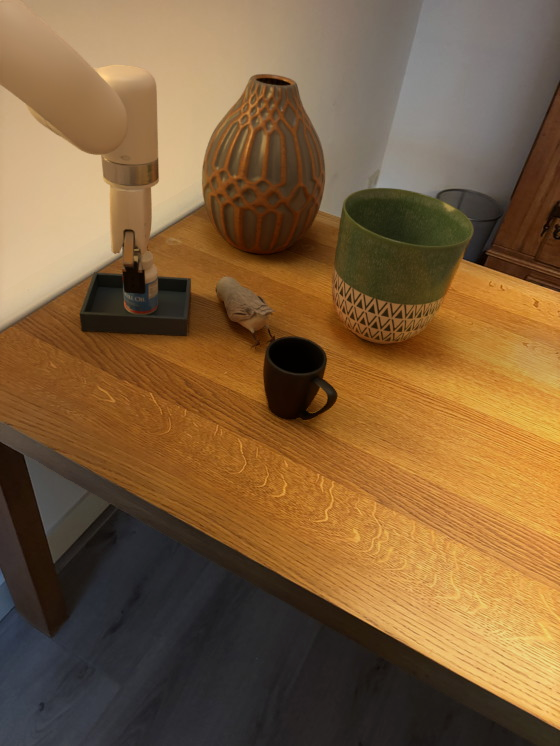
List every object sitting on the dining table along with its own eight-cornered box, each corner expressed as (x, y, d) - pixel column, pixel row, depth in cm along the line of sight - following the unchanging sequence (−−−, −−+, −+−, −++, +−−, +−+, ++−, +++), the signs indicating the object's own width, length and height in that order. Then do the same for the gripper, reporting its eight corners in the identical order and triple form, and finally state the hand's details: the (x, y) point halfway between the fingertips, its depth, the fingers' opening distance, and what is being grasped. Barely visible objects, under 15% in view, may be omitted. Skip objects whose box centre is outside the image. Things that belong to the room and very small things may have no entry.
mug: (297, 454, 71) (308, 401, 65) (247, 398, 78) (253, 345, 72) (344, 431, 75) (359, 380, 69) (293, 380, 82) (302, 329, 76)
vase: (325, 229, 122) (353, 80, 102) (295, 279, 104) (322, 109, 84) (226, 204, 126) (235, 55, 106) (180, 248, 108) (181, 78, 88)
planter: (386, 292, 105) (417, 183, 91) (453, 352, 92) (502, 237, 78) (298, 310, 96) (318, 193, 83) (359, 378, 84) (395, 255, 70)
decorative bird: (232, 296, 97) (235, 258, 92) (281, 347, 88) (286, 308, 83) (205, 302, 95) (207, 264, 90) (252, 355, 85) (256, 316, 80)
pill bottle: (117, 309, 89) (113, 256, 82) (136, 293, 93) (133, 242, 86) (147, 320, 88) (145, 267, 81) (164, 304, 91) (163, 252, 85)
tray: (81, 331, 85) (79, 313, 83) (95, 288, 94) (93, 272, 92) (186, 336, 87) (187, 319, 85) (190, 294, 96) (190, 278, 94)
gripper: (112, 144, 81) (120, 253, 93) (90, 191, 68) (103, 311, 80) (163, 149, 82) (165, 256, 94) (152, 196, 69) (156, 314, 81)
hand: (137, 280), depth 87 cm, fingers closed on pill bottle, 5 cm apart
